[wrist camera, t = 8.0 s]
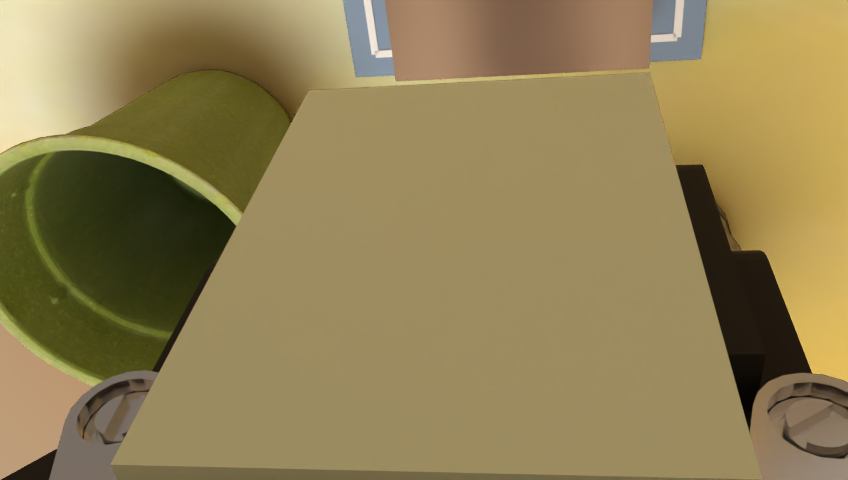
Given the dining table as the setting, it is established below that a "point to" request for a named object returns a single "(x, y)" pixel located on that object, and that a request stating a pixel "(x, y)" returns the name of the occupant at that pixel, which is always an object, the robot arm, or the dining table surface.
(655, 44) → the blueprint mat
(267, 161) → the plant pot
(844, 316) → the dining table surface
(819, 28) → the dining table surface
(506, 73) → the walnut plinth
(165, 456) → the sage pillar block
